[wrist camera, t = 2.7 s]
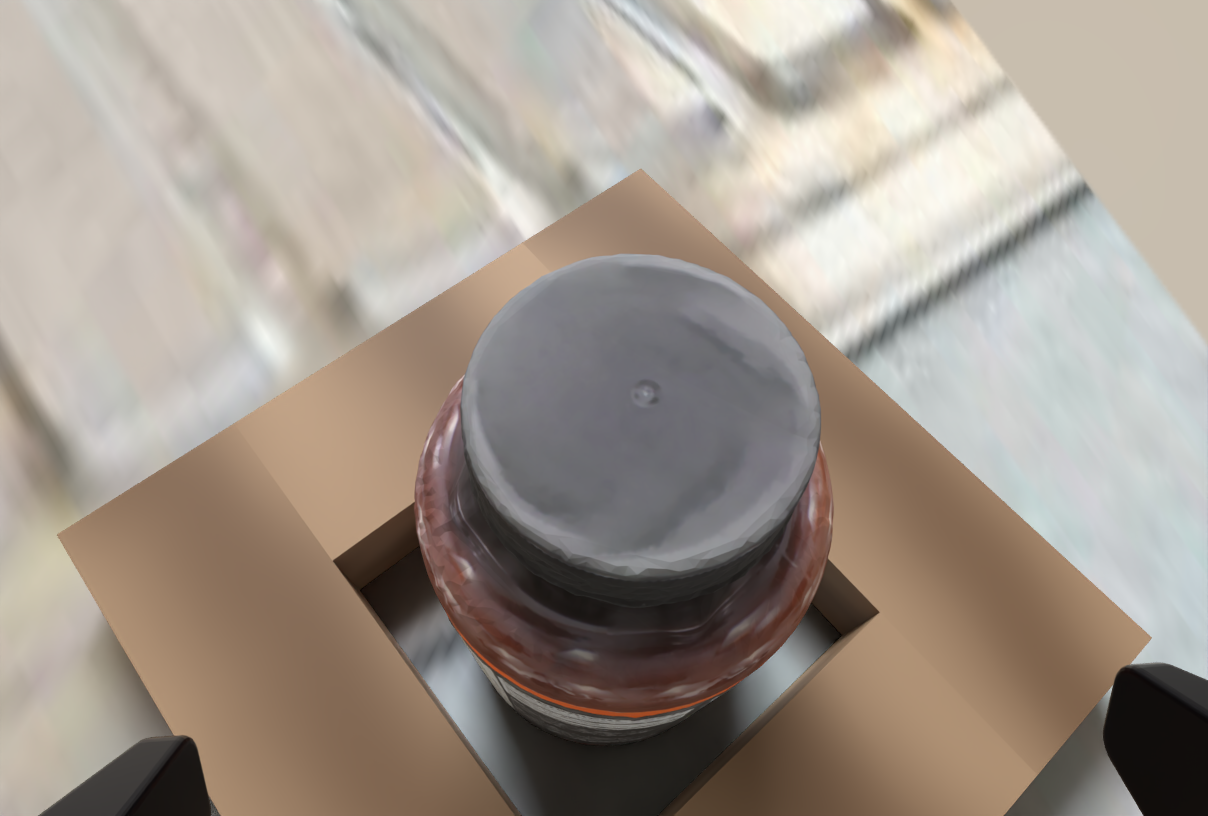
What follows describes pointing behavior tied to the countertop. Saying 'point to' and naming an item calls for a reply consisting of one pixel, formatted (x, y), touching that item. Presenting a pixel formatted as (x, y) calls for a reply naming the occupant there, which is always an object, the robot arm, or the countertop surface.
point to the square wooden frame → (388, 533)
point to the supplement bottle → (626, 495)
